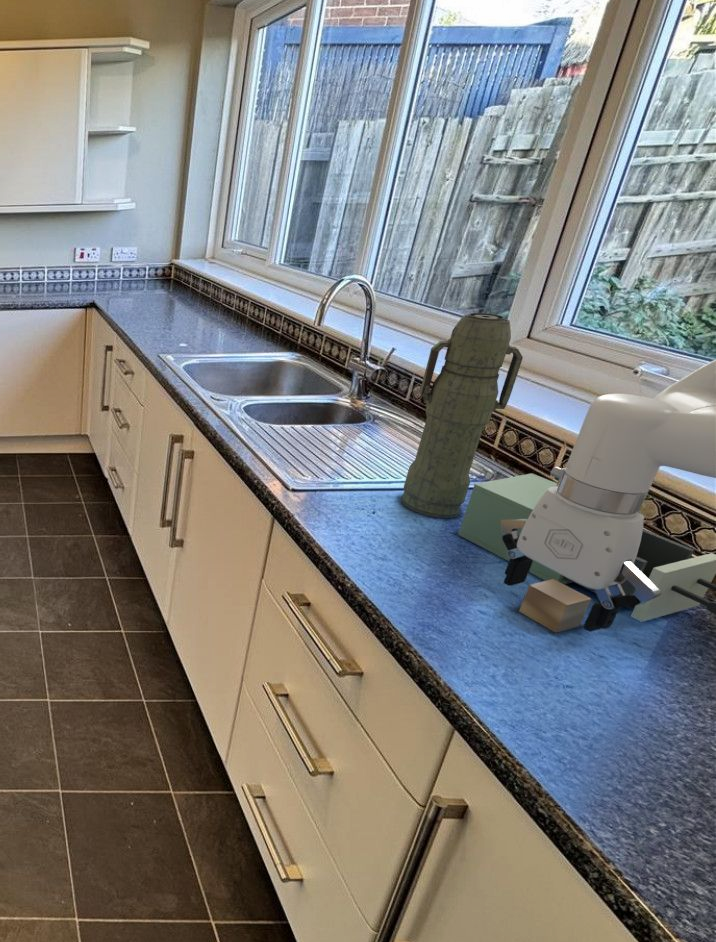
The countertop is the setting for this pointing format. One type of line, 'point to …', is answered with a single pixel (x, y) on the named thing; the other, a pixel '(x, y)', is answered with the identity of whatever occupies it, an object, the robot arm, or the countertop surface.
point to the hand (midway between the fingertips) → (551, 604)
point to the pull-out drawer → (671, 577)
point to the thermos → (459, 412)
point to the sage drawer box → (505, 514)
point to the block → (554, 605)
